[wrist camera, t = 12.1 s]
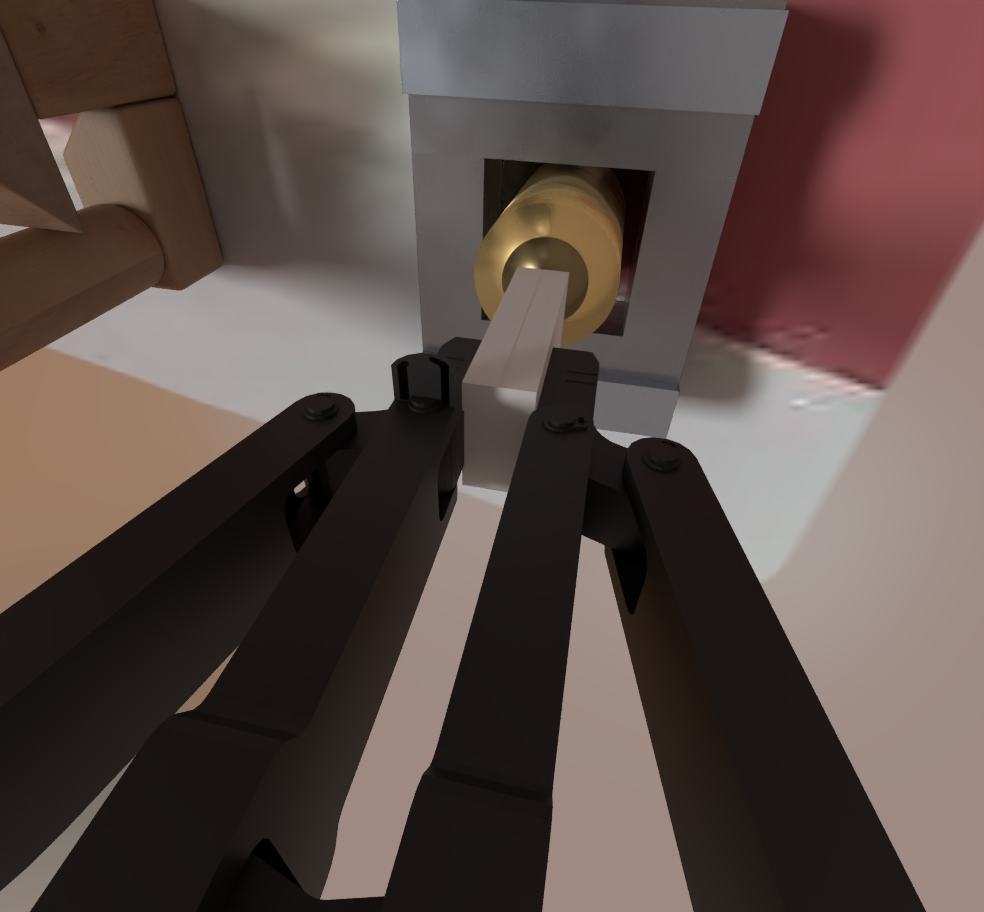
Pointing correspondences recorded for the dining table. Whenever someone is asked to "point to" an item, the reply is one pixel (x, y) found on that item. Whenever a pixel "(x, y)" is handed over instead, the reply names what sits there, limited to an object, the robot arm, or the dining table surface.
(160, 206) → the brown wooden stand
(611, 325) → the jig
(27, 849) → the robot arm
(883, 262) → the dining table surface
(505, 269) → the bushing
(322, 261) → the dining table surface
